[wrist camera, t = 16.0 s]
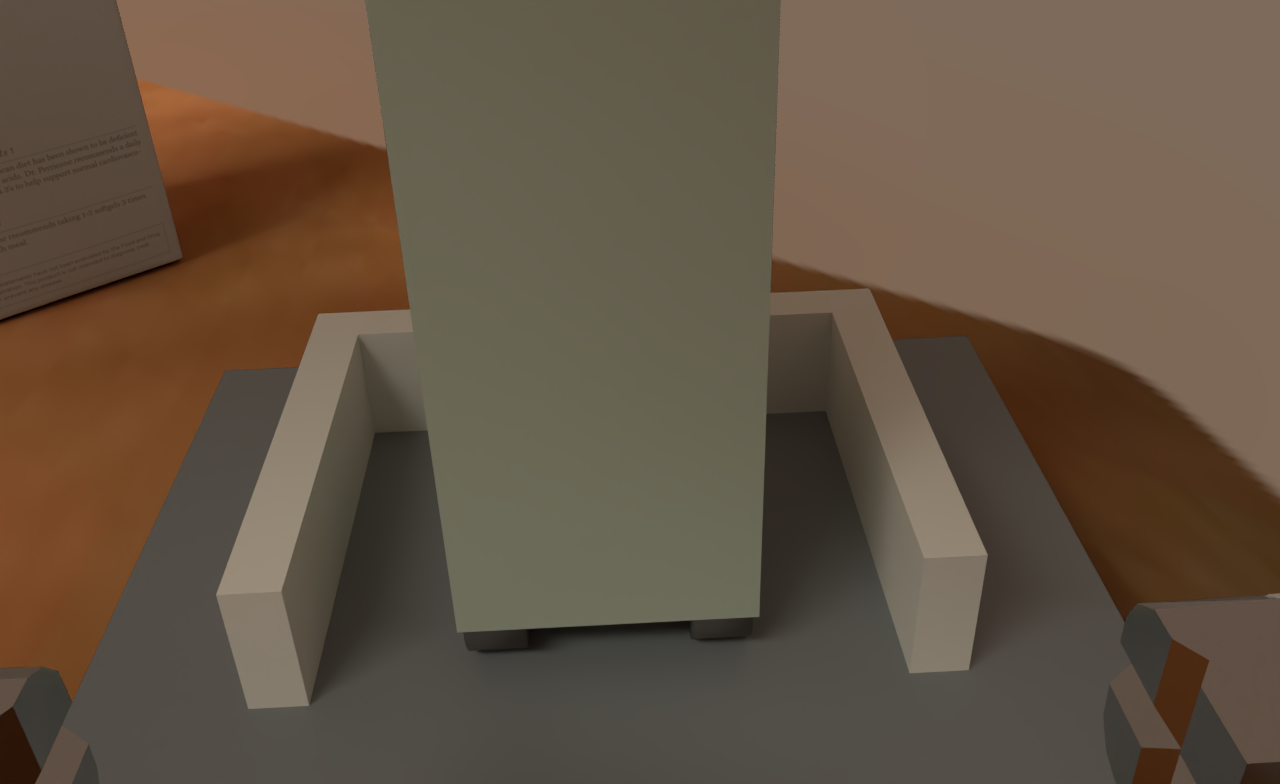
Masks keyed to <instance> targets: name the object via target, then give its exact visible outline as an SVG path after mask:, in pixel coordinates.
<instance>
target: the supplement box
mask: <svg viewBox="0 0 1280 784" xmlns="http://www.w3.org/2000/svg"><path fill="white" fill-rule="evenodd" d="M181 258H182V253H181V249H180V245H179V241H178V237H177V233H176V229H175V225H174V221H173V218H172V214H171V210H170V206H169V202H168V198H167V195H166V191H165V187H164V183H163V180H162V176H161V172H160V167H159V164H158V160H157V156H156V152H155V149H154V145H153V141H152V137H151V133H150V129H149V126H148V122H147V118H146V114H145V110H144V106H143V102H142V98H141V94H140V91H139V87H138V83H137V79H136V75H135V71H134V68H133V63H132V60H131V56H130V52H129V48H128V44H127V40H126V37H125V33H124V29H123V25H122V21H121V17H120V13H119V9H118V6H117V2H116V0H0V320H1V319H4V318H7V317H10V316H12V315H15V314H18V313H21V312H24V311H27V310H30V309H33V308H36V307H39V306H42V305H45V304H48V303H51V302H54V301H56V300H59V299H62V298H65V297H68V296H71V295H74V294H77V293H80V292H83V291H86V290H89V289H92V288H95V287H98V286H101V285H104V284H107V283H110V282H113V281H116V280H119V279H122V278H125V277H128V276H131V275H134V274H137V273H140V272H143V271H146V270H149V269H152V268H155V267H158V266H161V265H164V264H167V263H170V262H173V261H176V260H178V259H181Z"/></svg>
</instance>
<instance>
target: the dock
mask: <svg viewBox="0 0 1280 784" xmlns="http://www.w3.org/2000/svg"><path fill="white" fill-rule="evenodd" d="M1124 624H1125V622H1124V620H1123V618H1122V617H1121V615H1120V613H1119V611H1118V609H1117V608H1116V606H1115V604H1114V602H1113V600H1112V598H1111V597H1110V595H1109V593H1108V591H1107V589H1106V588H1105V586H1104V584H1103V582H1102V580H1101V578H1100V577H1099V575H1098V573H1097V571H1096V569H1095V568H1094V566H1093V564H1092V562H1091V560H1090V559H1089V557H1088V555H1087V553H1086V551H1085V549H1084V548H1083V546H1082V544H1081V542H1080V540H1079V539H1078V537H1077V535H1076V533H1075V531H1074V529H1073V528H1072V526H1071V524H1070V522H1069V520H1068V519H1067V517H1066V515H1065V513H1064V511H1063V509H1062V508H1061V506H1060V504H1059V502H1058V500H1057V499H1056V497H1055V495H1054V493H1053V491H1052V489H1051V488H1050V486H1049V484H1048V482H1047V480H1046V479H1045V477H1044V475H1043V473H1042V471H1041V469H1040V468H1039V466H1038V464H1037V462H1036V460H1035V459H1034V457H1033V455H1032V453H1031V451H1030V449H1029V448H1028V446H1027V444H1026V442H1025V440H1024V439H1023V437H1022V435H1021V433H1020V431H1019V429H1018V428H1017V426H1016V424H1015V422H1014V420H1013V419H1012V417H1011V415H1010V413H1009V411H1008V409H1007V408H1006V406H1005V404H1004V402H1003V400H1002V399H1001V397H1000V395H999V393H998V391H997V389H996V388H995V386H994V384H993V382H992V380H991V379H990V377H989V375H988V373H987V371H986V369H985V368H984V366H983V364H982V362H981V360H980V359H979V357H978V355H977V353H976V351H975V349H974V348H973V346H972V344H971V342H970V340H969V339H968V337H967V336H952V337H930V338H909V339H892V338H891V336H890V334H889V331H888V329H887V327H886V325H885V322H884V320H883V318H882V316H881V313H880V311H879V309H878V307H877V304H876V302H875V300H874V298H873V295H872V293H871V291H870V289H869V288H868V289H847V290H825V291H803V292H781V293H771V294H770V322H769V351H768V380H767V408H766V437H765V466H764V494H763V523H762V552H761V580H760V609H759V617H753V628H752V634H751V636H741V637H722V638H703V639H691V636H690V630H689V623H688V621H669V622H650V623H631V624H612V625H593V626H574V627H554V628H535V629H530V641H529V647H528V648H513V649H494V650H475V651H468V650H467V648H466V644H465V640H464V634H463V632H459V633H457V629H456V622H455V615H454V608H453V601H452V594H451V587H450V581H449V574H448V567H447V560H446V553H445V546H444V539H443V532H442V526H441V519H440V512H439V505H438V498H437V491H436V484H435V477H434V471H433V464H432V457H431V450H430V443H429V436H428V429H427V422H426V416H425V409H424V402H423V395H422V388H421V381H420V374H419V367H418V361H417V354H416V347H415V340H414V333H413V326H412V319H411V312H410V310H389V311H367V312H346V313H324V314H318V316H317V319H316V322H315V324H314V327H313V330H312V333H311V335H310V338H309V341H308V344H307V346H306V349H305V352H304V355H303V357H302V360H301V363H300V366H299V367H292V368H271V369H249V370H228V371H225V372H224V374H223V376H222V378H221V381H220V383H219V385H218V387H217V389H216V391H215V394H214V396H213V398H212V400H211V402H210V404H209V407H208V409H207V411H206V413H205V415H204V417H203V420H202V422H201V424H200V426H199V428H198V431H197V433H196V435H195V437H194V439H193V441H192V444H191V446H190V448H189V450H188V452H187V454H186V457H185V459H184V461H183V463H182V465H181V467H180V470H179V472H178V474H177V476H176V478H175V480H174V483H173V485H172V487H171V489H170V491H169V494H168V496H167V498H166V500H165V502H164V504H163V507H162V509H161V511H160V513H159V515H158V517H157V520H156V522H155V524H154V526H153V528H152V530H151V533H150V535H149V537H148V539H147V541H146V544H145V546H144V548H143V550H142V552H141V554H140V557H139V559H138V561H137V563H136V565H135V567H134V570H133V572H132V574H131V576H130V578H129V580H128V583H127V585H126V587H125V589H124V591H123V593H122V596H121V598H120V600H119V602H118V604H117V607H116V609H115V611H114V613H113V615H112V617H111V620H110V622H109V624H108V626H107V628H106V630H105V633H104V635H103V637H102V639H101V641H100V643H99V646H98V648H97V650H96V652H95V654H94V656H93V659H92V661H91V663H90V665H89V667H88V670H87V672H86V674H85V676H84V678H83V680H82V683H81V685H80V687H79V689H78V691H77V693H76V696H75V698H74V700H73V702H72V704H71V706H70V709H69V711H68V713H67V715H66V717H65V720H64V722H63V724H62V726H63V727H65V728H66V729H68V730H69V731H71V732H72V733H74V734H75V735H76V736H78V737H79V738H81V739H82V740H84V741H85V742H87V743H88V744H89V746H90V749H91V752H92V754H93V757H94V760H95V762H96V765H97V770H98V777H99V784H1116V782H1115V779H1114V777H1113V774H1112V770H1111V767H1110V763H1109V760H1108V756H1107V752H1106V747H1105V733H1104V720H1103V714H1104V709H1105V703H1106V698H1107V693H1108V688H1109V683H1111V682H1112V681H1113V680H1114V679H1115V678H1116V677H1117V676H1118V675H1120V674H1121V673H1122V672H1123V671H1124V670H1125V669H1126V668H1127V667H1128V666H1130V665H1131V664H1132V663H1131V662H1130V660H1129V658H1128V656H1127V654H1126V652H1125V650H1124V648H1123V646H1122V645H1121V643H1120V639H1121V635H1122V632H1123V628H1124Z"/></svg>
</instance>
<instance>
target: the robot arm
mask: <svg viewBox="0 0 1280 784" xmlns="http://www.w3.org/2000/svg"><path fill="white" fill-rule="evenodd" d="M1120 643H1121V645H1122V646H1123V648H1124V650H1125V652H1126V654H1127V656H1128V658H1129V660H1130V662H1131V663H1132V664H1131V665H1130V666H1128V667H1127V668H1126V669H1125V670H1124V671H1123V672H1122V673H1121V674H1120V675H1118V676H1117V677H1116V678H1115V679H1114V680H1113V681H1112V682H1111V683H1109V688H1108V693H1107V698H1106V703H1105V709H1104V714H1103V720H1104V733H1105V747H1106V752H1107V756H1108V760H1109V763H1110V767H1111V770H1112V774H1113V777H1114V779H1115V782H1116V784H1280V593H1277V594H1268V595H1266V596H1260V595H1254V596H1239V597H1224V598H1209V599H1194V600H1179V601H1164V602H1149V603H1137V604H1136V605H1135V606H1134V608H1133V609H1132V610H1131V612H1130V613H1129V614H1128V615H1127V617H1126V620H1125V624H1124V628H1123V632H1122V635H1121V639H1120ZM71 704H72V701H71V699H70V696H69V694H68V692H67V690H66V688H65V685H64V683H63V681H62V679H61V677H60V674H59V672H58V671H56V670H52V669H49V668H45V667H18V668H0V784H99V777H98V770H97V765H96V762H95V760H94V757H93V754H92V752H91V749H90V746H89V744H88V743H87V742H85V741H84V740H82V739H81V738H79V737H78V736H76V735H75V734H74V733H72V732H71V731H69V730H68V729H66V728H65V727H63V726H62V724H63V722H64V720H65V717H66V715H67V713H68V711H69V708H70V706H71Z"/></svg>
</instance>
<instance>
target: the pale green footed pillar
mask: <svg viewBox="0 0 1280 784" xmlns="http://www.w3.org/2000/svg"><path fill="white" fill-rule="evenodd" d="M365 3H366V10H367V17H368V24H369V31H370V37H371V44H372V51H373V58H374V65H375V72H376V79H377V85H378V92H379V99H380V106H381V113H382V120H383V127H384V133H385V141H386V147H387V154H388V161H389V168H390V175H391V182H392V189H393V196H394V202H395V209H396V216H397V223H398V230H399V237H400V244H401V251H402V257H403V264H404V271H405V278H406V285H407V292H408V299H409V306H410V312H411V319H412V326H413V333H414V340H415V347H416V354H417V361H418V367H419V374H420V381H421V388H422V395H423V402H424V409H425V416H426V422H427V429H428V436H429V443H430V450H431V457H432V464H433V471H434V477H435V484H436V491H437V498H438V505H439V512H440V519H441V526H442V532H443V539H444V546H445V553H446V560H447V567H448V574H449V581H450V587H451V594H452V601H453V608H454V615H455V622H456V629H457V633H459V632H463V634H464V640H465V644H466V648H467V650H468V651H475V650H494V649H513V648H528V647H529V641H530V629H535V628H554V627H574V626H593V625H612V624H631V623H650V622H669V621H688V623H689V630H690V636H691V639H703V638H722V637H741V636H751V634H752V628H753V617H759V609H760V580H761V552H762V523H763V494H764V466H765V437H766V408H767V380H768V351H769V322H770V294H771V265H772V236H773V235H772V234H773V207H774V179H775V177H774V176H775V150H776V149H775V148H776V147H775V146H776V122H777V121H776V120H777V93H778V64H779V36H780V7H781V0H365Z"/></svg>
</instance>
